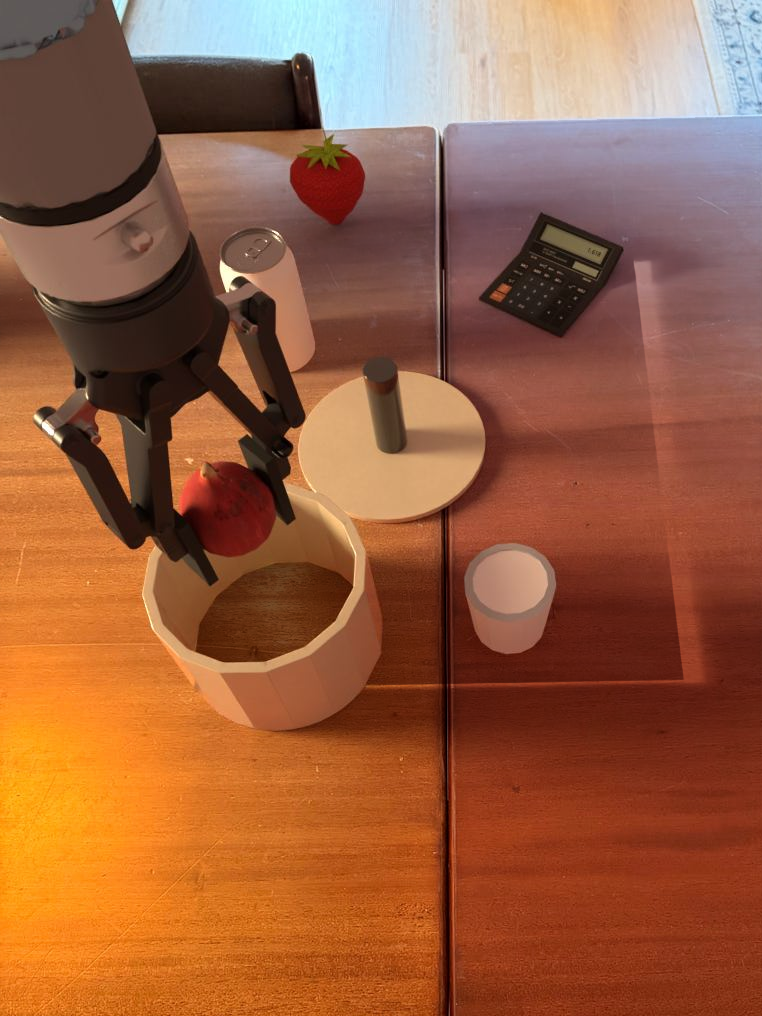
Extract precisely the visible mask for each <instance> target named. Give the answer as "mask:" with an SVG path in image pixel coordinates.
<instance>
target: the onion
mask: <svg viewBox="0 0 762 1016" xmlns="http://www.w3.org/2000/svg"><path fill="white" fill-rule="evenodd" d="M179 514H180V515H181V516H182V517H184V518H185V519H186V520H187V521H188V522H189V524H190V525H191V527H192V529H193V531H194V533H195V535H196V537H197V539H198V541H199V542H200V544H201V546H202V548H203V549H204V550H206V551H207V552H209V553H211V554H216V555H220V556H225V557H236V556H243V555H245V554H247V553H249V552H252V551H254V550H256V549H257V548H259V547H260V546H261V545H262V544H263V543H264V542H265V541H266V540H267V539H268V537H269V535H270V533H271V531H272V528H273V525H274V523H275V520H276V512H275V505H274V500H273V494H272V493H271V491H270V489H269V487H268V486H267V485H266V484H265V482H264V481H263V480H262V479H261V478H260V477H259V476H258V475H257V474H256V473H255V472H254V471H252V470H251V469H249V468H248V466H247V467H246V466H244V465H243V464H241V463H238V462H234V461H222V460H220V461H214V462H208V461H206V460H205V461H203V462H201V463H200V465H199V468H198V469H195V471H194V472H193V473H192V474H191V476H190V477H188V479H187V480H186V481H185V484H184V487H183V488H182V491H181V494H180V497H179Z"/></svg>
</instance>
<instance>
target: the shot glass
mask: <svg viewBox="0 0 762 1016" xmlns="http://www.w3.org/2000/svg"><path fill="white" fill-rule="evenodd" d="M463 580H464V581H463V582H464V592H465V593H464V594H465V597H466V601H467V604H468V609H469V613H470V616H471V620H472V621H471V622H472V624H473V629H474V632H475V634H476V635H477V637H478V639H479V640H480V642H481V643H482V644H483V645H484V646H486V647H487V648H488V649H490V650H491V651H494V652H496V653H501V654H503V655H510V654H521V653H522V652H525V651H527V650H529V649H531V648H533V647H534V646H535V645H536V644H537V643H538V642H539V640H540V639H541V638H542V636H543V633H544V631H545V627H546V624H547V621H548V617H549V614H550V610H551V606H552V604H553V601H554V600H553V599H554V597H555V593H556V590H557V589H556V588H557V581H556V580H557V579H556V573H555V569H554V568H553V566H552V565H551V563H550V561H549V560H548V558H547V556H545V555H544V554H542V553H541V552H539V551H538V550H536V549H535V548H534V547H532V546H529V545H524V544H521V543H516V542H509V543H496V544H494V545H492V546H490V547H488V548H486V549H483V550H481V551H480V552H479V553H477V555H476V556H474V558H473V559H472V560H471V561H470V562H469V564H468V566H467V568H466V571H465V574H464V576H463Z"/></svg>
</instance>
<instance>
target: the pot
mask: <svg viewBox="0 0 762 1016" xmlns="http://www.w3.org/2000/svg"><path fill="white" fill-rule="evenodd" d="M283 483H284V486H285V488H286V491H287V494H288V497H289V500H290V503H291V506H292V509H293V511H294V514H295V517H296V519H295V520H294V521H293V522H292V523H290V524H289V525H288V526H287V525H286V524H285V523H284V522H283V521H282V520H281V519H280V518H278V517H277V516H276V520H275V523H274V525H273V528H272V531H271V533H270V535H269V537H268V539H267V540H266V541H265V542H264V543H263V544H262V545H261V546H260V547H259V548H257V549H256V550H254V551H252V552H249V553H247V554H245V555H243V556H236V557H225V556H220V555H216V554H211V553H209V552H207V551H206V550H204V549H203V550H204V552H205V554H206V556H207V558H208V560H209V561H210V563H211V565H212V567H213V569H214V571H215V573H216V575H217V577H218V579H219V580H218V581H217V582H216V583H214V584H213V585H212V586H209V585H208V584H207V583H205V582H204V581H203V580H202V579H201V578H200V577H199V576H198V575H197V574H196V573H195V572H194V571H193V570H192V569H191V568H190V567H189V566H188V565H187V564H186V563H185V562H184V560H183V559H182V558H181V559H180V560H179V561H177V562H174V561H171V560H170V559H169V558H168V557H167V556H166V555H165V554H164V553H163V552H162V551H161V550H160V549H159V548H158V547H157V546H156V545H155V546H154V548H153V549H152V551H151V552H150V553H149V555H148V559H147V566H146V570H145V576H144V582H143V586H142V593H141V595H142V599H143V603H144V605H145V609H146V612H147V616H148V620H149V623H150V626H151V629H152V631H153V633H154V635H156V637H157V638H158V640H159V641H160V642H161V643H162V645H163V646H164V648H165V649H166V650H167V652H168V654H169V655H170V657H171V658H172V659H173V660H174V662H175V664H176V665H177V666H178V668H179V669H180V670H181V672H182V673H183V674H184V676H185V677H186V678H187V680H188V681H189V683H190V684H191V685H192V687H193V688H194V690H195V691H196V692H197V693H198V694H199V695H200V696H201V697H202V698H203V699H204V700H205V702H207V704H208V705H209V706H210V708H212V709H213V710H214V711H215V712H216V713H217V714H218V715H220V716H222V717H224V718H226V719H227V720H229V721H232V722H233V723H236V724H238V725H240V726H244V727H247V728H250V729H255V730H261V731H274V732H275V731H276V732H277V731H278V732H279V731H280V732H281V731H291V730H297V729H301V728H305V727H308V726H312V725H315V724H318V723H319V722H322V721H324V720H326V719H328V718H330V717H332V716H334V715H335V714H336V713H338V712H340V711H342V710H343V709H344V708H345V707H346V706H347V705H349V704H350V703H351V702H353V700H354V699H355V698H356V697H357V696H359V694H360V693H361V692H362V691H363V690H364V688H365V687H366V685H367V682H368V680H369V678H370V676H371V674H372V672H373V670H374V668H375V666H376V664H377V662H378V660H379V658H380V657H381V654H382V645H383V641H382V640H383V622H384V621H383V619H384V618H383V614H382V610H381V605H380V602H379V598H378V594H377V590H376V585H375V581H374V577H373V572H372V569H371V564H370V561H369V556H368V552H367V550H366V547H365V545H364V543H363V540H362V538H361V536H360V534H359V531H358V529H357V527H356V524H355V522H354V520H353V518H351V517H349V516H348V515H347V514H346V513H345V512H344V511H342V510H341V509H340V508H339V507H338V506H337V505H335V504H334V503H333V502H332V501H331V500H330V499H328V498H327V497H326V496H325V495H323V494H320V493H317V492H314V491H312V489H311V490H310V489H307V488H304V487H301V486H299V485H295V484H292V483H289V482H283ZM293 563H294V564H295V563H309V564H313V565H315V566H318V567H321V568H324V569H328V570H329V571H333V572H335V573H338V574H339V575H340V576H341V577H343V578H344V579H345V580H346V581H347V582H348V583H349V584H350V585H352V587H353V588H352V589H351V592H349V595H348V597H347V599H346V600H345V603H344V605H343V606H342V608H341V610H340V612H339V614H338V616H337V617H336V619H335V621H334V622H333V623H331V624H329V626H328V627H327V628H325V630H323V631H322V632H321V633H320V634H318V636H316V637H315V638H313V640H311V641H310V642H309V643H308V644H307V645H305V646H304V647H301V648H298V649H296V650H293V651H290V652H288V653H284V654H282V655H280V656H277V657H274V658H272V659H269V660H267V661H241V662H240V661H239V662H234V661H233V662H224V661H221V660H218V659H216V658H213V657H211V656H208V655H204V654H203V653H200V652H198V651H197V644H198V636H199V632H200V631H199V630H200V624H201V623H202V620H203V619H204V617H205V616H206V614H207V613H208V611H209V609H210V607H211V606H212V604H213V603H214V601H215V599H216V597H217V596H218V595H220V594H221V593H222V592H223V591H224V590H226V589H227V588H228V587H230V586H231V585H233V583H234V582H236V581H237V580H239V579H240V578H241V577H242V576H243V575H246V574H249V573H251V572H254V571H258V570H259V569H262V568H265V567H268V566H271V565H273V564H293ZM196 651H197V652H196Z"/></svg>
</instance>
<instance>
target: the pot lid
mask: <svg viewBox="0 0 762 1016" xmlns="http://www.w3.org/2000/svg"><path fill="white" fill-rule="evenodd" d="M361 371H362V376H359V377H357V378H354V379H352V380H348V381H347V382H345V383H343V384H341V385H339V386H338V387H336V388H334V389H333V390H332V391H330V392H329V393H328V394H326V395H325V396H324V397H323V398H322V399H321V400H320V401H319V402H318V403H317V404H316V405H315V406H314V407H313V409H312V410H311V412H310V413H309V414H308V416H307V418H305V421H304V423H303V424H302V428H301V431H300V434H299V440H298V445H297V446H298V447H297V449H298V450H297V453H298V454H297V455H298V461H299V466H300V469H301V472H302V476H303V477H304V480H305V482H306V484H307V486H308V487H309V488H310V489H311V491H314V492H317V493H320V494H323V495H325V496H326V497H327V498H328V499H330V500H331V501H332V502H333V503H334V504H335V505H337V506H338V507H339V508H340V509H341V510H342V511H344V512H345V513H346V514H347V515H348V516H349V517H351V518H352V519H356V520H359V521H363V522H366V523H367V522H369V523H375V524H398V523H405V522H412V521H416V520H419V519H423V518H426V517H428V516H432V515H433V514H436V513H438V512H440V511H441V510H444V509H446V508H447V507H448V506H450V505H451V504H453V503H454V502H455V501H457V500H458V499H459V498H460V497H461V496H463V494H465V493H466V492H467V490H468V489H469V488H470V487H471V486H472V485H473V483H474V481H475V480H476V478H477V476H479V473H480V471H481V469H482V466H483V463H484V460H485V455H486V445H487V441H486V431H485V426H484V423H483V420H482V418H481V415H480V414H479V411H478V410H477V408H476V407H475V405H474V404H473V403H472V401H471V400H470V399H469V398H468V397H467V396H466V394H464V393H462V391H460V390H459V389H458V388H456V387H454V386H453V385H452V384H450V383H449V382H446V381H445V380H442V379H440V378H437V377H434V376H432V375H429V374H425V373H421V372H417V371H416V372H414V371H405V370H399V369H398V365H397V363H396V362H395V360H393V359H392V358H390V357H388V356H374V357H371V358H369V359H368V360H367V361H366V362H365V363H364V365H363V366H362V370H361Z"/></svg>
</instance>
